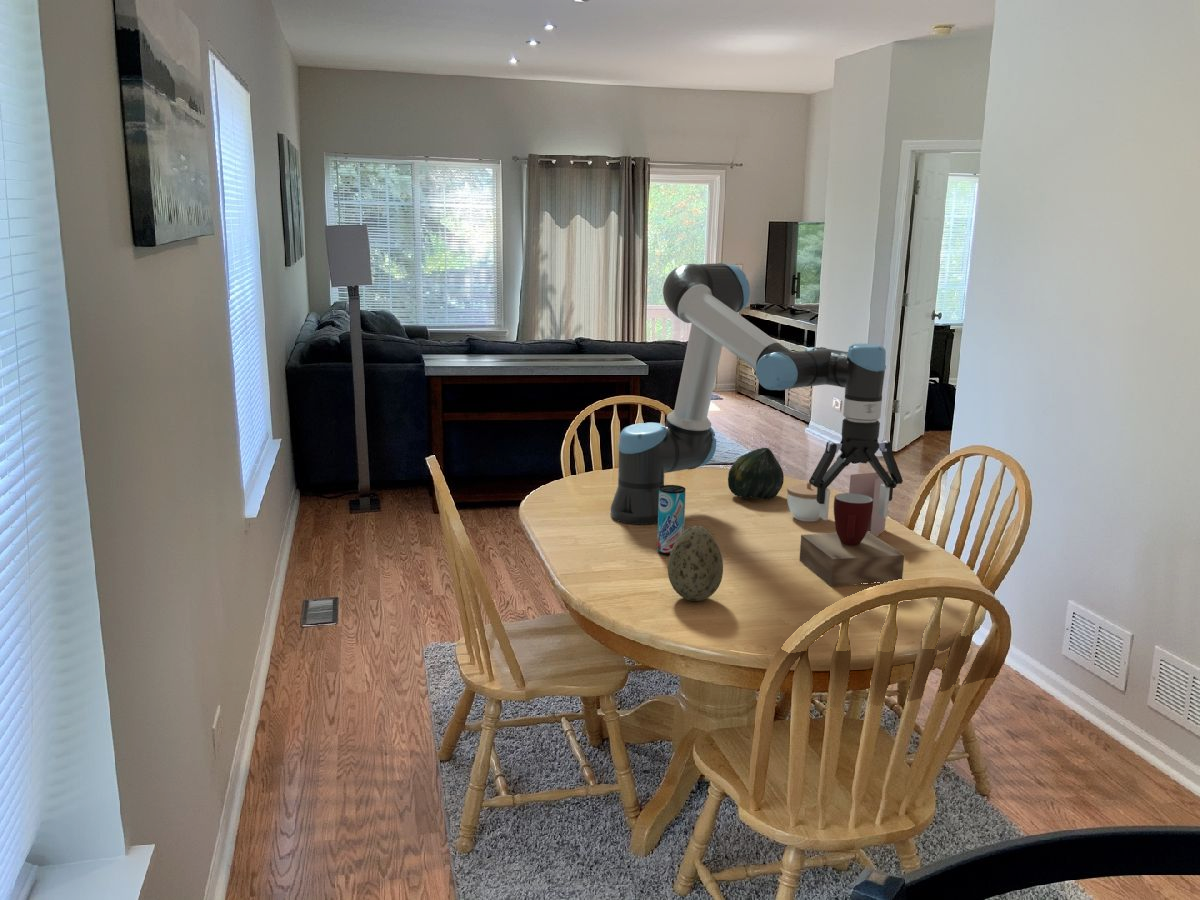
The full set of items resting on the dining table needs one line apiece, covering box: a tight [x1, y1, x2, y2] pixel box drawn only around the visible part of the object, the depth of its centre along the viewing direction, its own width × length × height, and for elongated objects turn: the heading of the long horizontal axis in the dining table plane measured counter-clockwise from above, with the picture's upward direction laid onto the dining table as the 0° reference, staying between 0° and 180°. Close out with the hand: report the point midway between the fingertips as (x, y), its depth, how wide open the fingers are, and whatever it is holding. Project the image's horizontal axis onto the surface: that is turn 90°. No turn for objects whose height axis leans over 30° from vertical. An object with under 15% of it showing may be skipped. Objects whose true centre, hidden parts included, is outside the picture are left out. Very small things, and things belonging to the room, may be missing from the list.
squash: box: [727, 447, 785, 500], centre depth 256 cm, size 14×15×15 cm
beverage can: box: [656, 484, 686, 556], centre depth 209 cm, size 6×6×15 cm
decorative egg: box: [667, 525, 724, 602], centre depth 182 cm, size 11×11×15 cm
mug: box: [833, 492, 873, 545], centre depth 198 cm, size 11×8×10 cm
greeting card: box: [848, 470, 891, 537], centre depth 224 cm, size 11×7×15 cm, turn 111°
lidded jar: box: [786, 481, 829, 523], centre depth 237 cm, size 11×11×9 cm
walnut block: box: [798, 531, 905, 588], centre depth 200 cm, size 16×16×6 cm
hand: (852, 516), depth 198 cm, fingers open, 13 cm apart
